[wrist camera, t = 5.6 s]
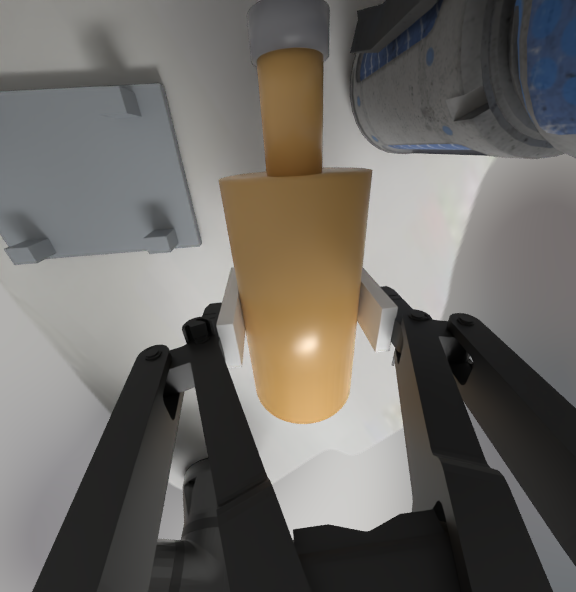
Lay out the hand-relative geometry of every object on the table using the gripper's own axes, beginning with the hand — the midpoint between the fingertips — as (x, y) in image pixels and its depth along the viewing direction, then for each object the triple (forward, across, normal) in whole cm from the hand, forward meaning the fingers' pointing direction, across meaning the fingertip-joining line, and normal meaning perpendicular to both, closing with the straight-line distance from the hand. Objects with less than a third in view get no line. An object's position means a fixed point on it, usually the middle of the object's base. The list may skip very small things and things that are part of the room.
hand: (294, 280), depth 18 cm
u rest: (+11, +18, -6) cm, 22 cm away
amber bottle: (+1, 0, -3) cm, 3 cm away
